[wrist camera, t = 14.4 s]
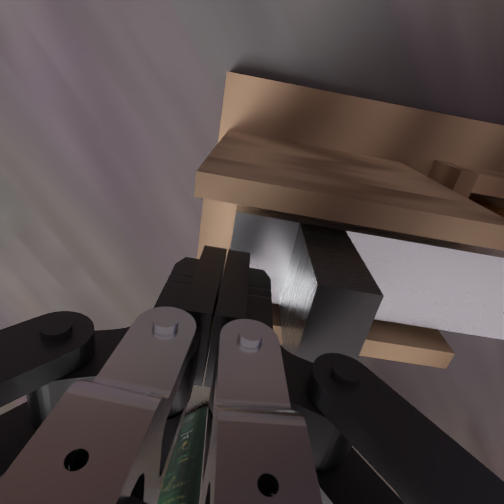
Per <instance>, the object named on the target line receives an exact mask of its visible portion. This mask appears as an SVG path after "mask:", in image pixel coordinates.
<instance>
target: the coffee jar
mask: <svg viewBox="0 0 504 504" xmlns="http://www.w3.org/2000/svg"><path fill="white" fill-rule="evenodd" d="M207 410H208V407H202V408H199V409H196V410H194V411H193V412H191V413H189V414H187V415H186V416H184V419H183V422H182V425H181V428H180V431H179V434H178V438H177V441H176V444H175V447H174V450H173V453H172V456H171V459H170V462H169V465H168V468H167V471H166V474H165V477H164V480H163V484H162V487H161V490H160V494H159V498H158V503H157V504H199V498H200V487H201V476H202V464H203V452H204V440H205V428H206V416H207Z"/></svg>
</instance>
